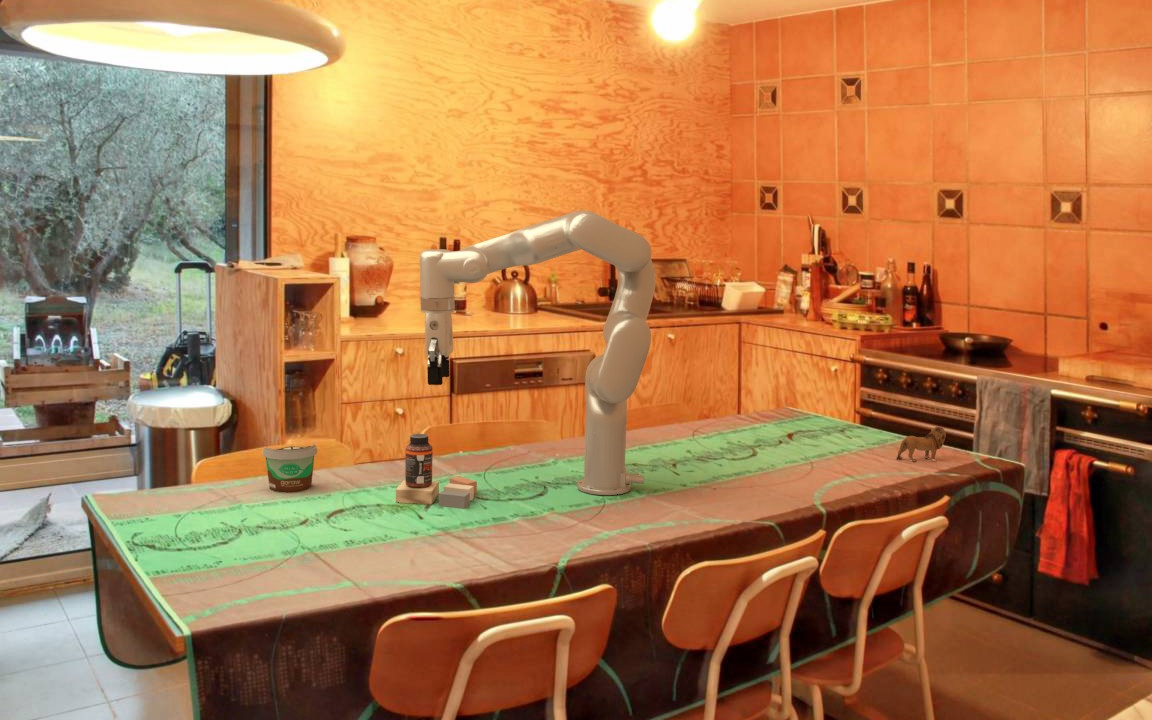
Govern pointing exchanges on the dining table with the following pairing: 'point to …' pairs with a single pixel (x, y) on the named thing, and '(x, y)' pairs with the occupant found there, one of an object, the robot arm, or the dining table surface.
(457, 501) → the brick slate
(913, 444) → the lion figurine
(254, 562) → the dining table surface
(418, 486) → the supplement bottle
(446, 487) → the brick cream
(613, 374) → the robot arm
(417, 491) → the oak slab
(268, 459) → the food container
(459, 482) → the brick terracotta
